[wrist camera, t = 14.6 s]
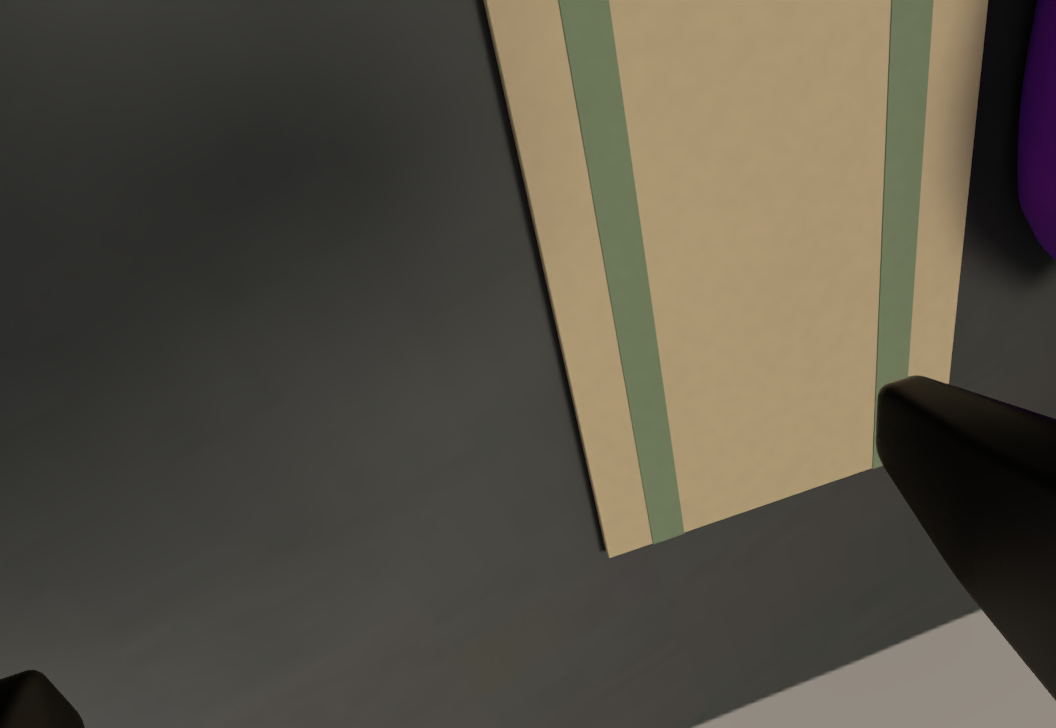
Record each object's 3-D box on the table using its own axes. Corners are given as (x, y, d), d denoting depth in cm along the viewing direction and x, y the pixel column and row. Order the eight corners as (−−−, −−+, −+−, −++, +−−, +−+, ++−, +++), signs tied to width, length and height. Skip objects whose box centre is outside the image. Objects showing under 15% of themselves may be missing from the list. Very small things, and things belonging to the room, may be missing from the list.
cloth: (425, -256, 14) (429, -258, 14) (1018, -402, 15) (1032, -407, 15) (606, 551, 25) (609, 559, 25) (936, 438, 26) (943, 444, 26)
